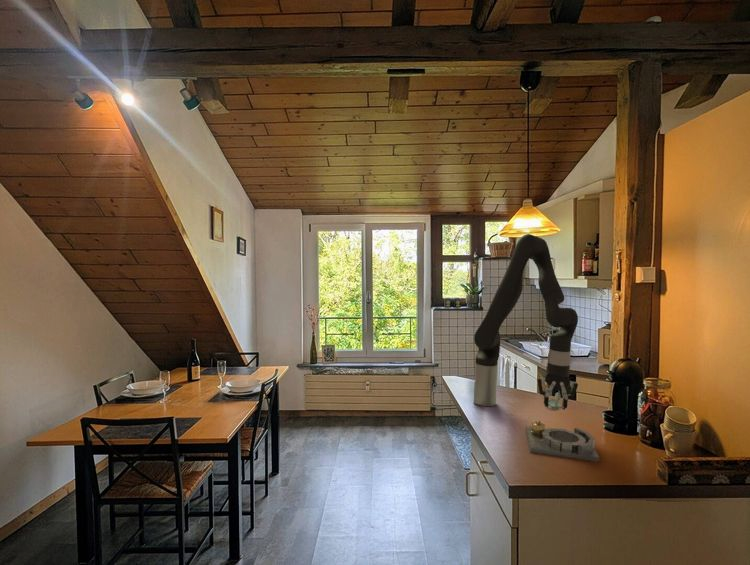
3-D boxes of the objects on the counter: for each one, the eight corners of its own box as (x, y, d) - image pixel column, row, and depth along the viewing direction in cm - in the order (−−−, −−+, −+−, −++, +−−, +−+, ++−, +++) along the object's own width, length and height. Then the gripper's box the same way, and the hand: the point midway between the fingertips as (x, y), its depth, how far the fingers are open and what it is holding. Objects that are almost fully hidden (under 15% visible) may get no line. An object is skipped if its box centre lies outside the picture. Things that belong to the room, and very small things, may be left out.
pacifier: (547, 412, 148) (565, 413, 147) (548, 395, 147) (566, 396, 147) (541, 405, 155) (558, 405, 154) (542, 388, 155) (559, 389, 154)
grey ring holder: (530, 452, 132) (530, 435, 132) (525, 430, 150) (526, 415, 150) (599, 462, 127) (600, 445, 126) (586, 438, 144) (587, 422, 144)
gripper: (538, 362, 148) (534, 408, 150) (582, 367, 144) (578, 414, 145) (536, 357, 156) (533, 401, 157) (578, 362, 151) (574, 407, 152)
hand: (555, 407), depth 151 cm, fingers closed on pacifier, 5 cm apart
